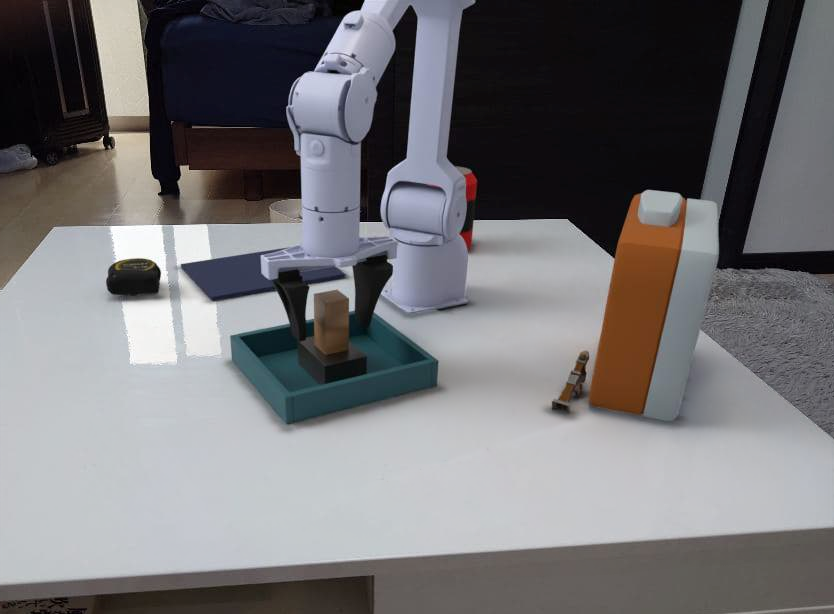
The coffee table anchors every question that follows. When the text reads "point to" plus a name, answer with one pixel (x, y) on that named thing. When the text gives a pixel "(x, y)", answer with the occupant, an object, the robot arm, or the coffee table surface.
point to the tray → (304, 398)
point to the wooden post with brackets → (573, 383)
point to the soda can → (468, 204)
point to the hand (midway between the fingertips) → (331, 330)
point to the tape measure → (133, 277)
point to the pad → (243, 275)
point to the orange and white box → (655, 304)
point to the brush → (331, 342)
